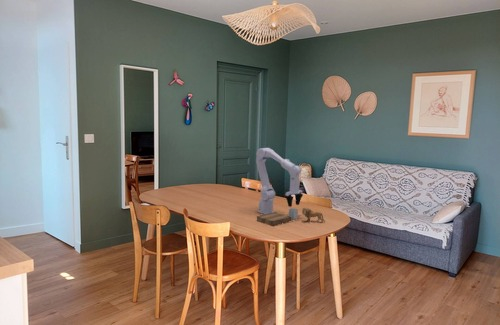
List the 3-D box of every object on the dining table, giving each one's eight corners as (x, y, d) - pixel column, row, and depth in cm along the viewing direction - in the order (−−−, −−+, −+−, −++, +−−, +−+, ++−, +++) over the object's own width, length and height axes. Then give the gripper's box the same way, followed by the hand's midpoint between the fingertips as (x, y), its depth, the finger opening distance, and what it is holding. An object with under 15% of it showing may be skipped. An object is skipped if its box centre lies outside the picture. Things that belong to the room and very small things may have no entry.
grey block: (288, 218, 237) (289, 209, 236) (292, 217, 240) (293, 208, 239) (293, 219, 234) (293, 210, 233) (297, 218, 237) (297, 209, 236)
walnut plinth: (256, 220, 228) (257, 216, 228) (274, 216, 239) (274, 212, 239) (273, 226, 218) (273, 221, 218) (290, 221, 229) (291, 216, 229)
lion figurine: (302, 222, 227) (302, 208, 226) (301, 220, 233) (301, 206, 231) (325, 223, 227) (326, 209, 226) (324, 220, 233) (324, 207, 231)
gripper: (292, 187, 226) (291, 208, 228) (306, 184, 236) (305, 205, 238) (283, 185, 231) (282, 206, 233) (297, 182, 241) (297, 203, 243)
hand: (293, 205), depth 236 cm, fingers open, 7 cm apart
